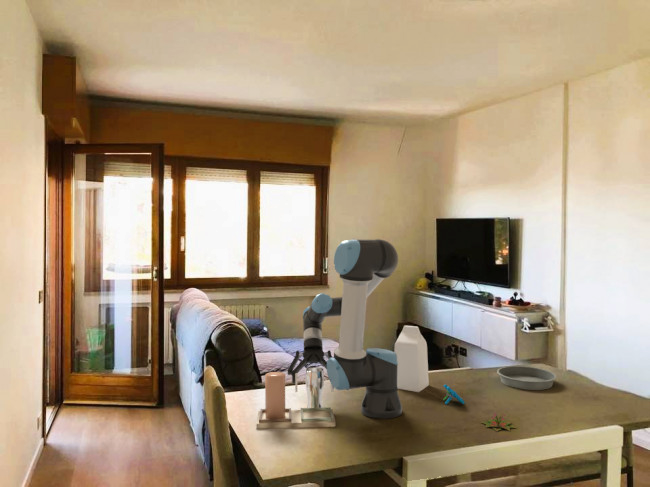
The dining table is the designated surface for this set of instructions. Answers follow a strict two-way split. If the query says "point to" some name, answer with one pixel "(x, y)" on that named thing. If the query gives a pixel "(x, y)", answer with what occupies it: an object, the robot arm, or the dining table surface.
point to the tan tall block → (275, 395)
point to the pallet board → (299, 418)
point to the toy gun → (452, 395)
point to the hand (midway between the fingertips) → (314, 390)
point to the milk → (411, 360)
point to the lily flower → (501, 422)
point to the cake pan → (526, 377)
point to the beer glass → (314, 387)
